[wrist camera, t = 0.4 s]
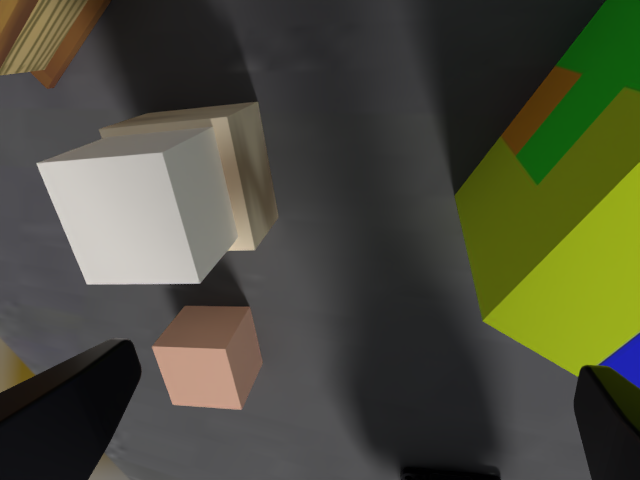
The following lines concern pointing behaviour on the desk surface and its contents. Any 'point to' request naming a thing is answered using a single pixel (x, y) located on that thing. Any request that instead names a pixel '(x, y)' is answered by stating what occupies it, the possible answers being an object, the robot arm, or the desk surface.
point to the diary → (44, 35)
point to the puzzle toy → (567, 207)
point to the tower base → (225, 160)
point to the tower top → (144, 206)
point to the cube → (209, 356)
